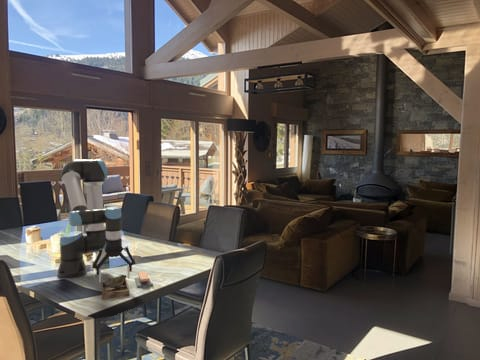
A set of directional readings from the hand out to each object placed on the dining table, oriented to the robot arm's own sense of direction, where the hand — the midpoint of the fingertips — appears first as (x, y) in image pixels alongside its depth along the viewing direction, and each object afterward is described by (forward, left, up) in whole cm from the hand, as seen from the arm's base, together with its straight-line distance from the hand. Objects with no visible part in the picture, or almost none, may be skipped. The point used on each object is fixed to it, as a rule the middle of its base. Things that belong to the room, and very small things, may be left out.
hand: (114, 279), depth 189 cm
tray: (0, 0, -6) cm, 6 cm away
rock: (0, +4, -4) cm, 6 cm away
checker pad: (+15, +7, -3) cm, 17 cm away
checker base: (+15, +7, -6) cm, 18 cm away
